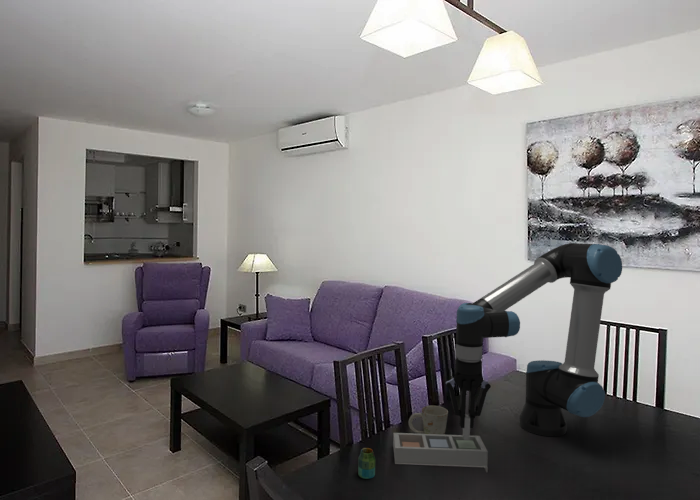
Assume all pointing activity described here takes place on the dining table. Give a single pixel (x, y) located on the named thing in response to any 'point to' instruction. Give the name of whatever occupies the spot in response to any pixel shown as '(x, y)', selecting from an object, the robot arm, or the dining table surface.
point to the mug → (431, 420)
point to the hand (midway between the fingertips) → (466, 438)
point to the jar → (366, 463)
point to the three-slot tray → (439, 451)
